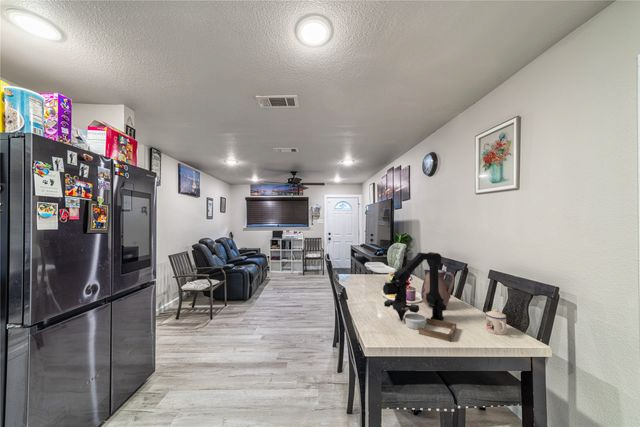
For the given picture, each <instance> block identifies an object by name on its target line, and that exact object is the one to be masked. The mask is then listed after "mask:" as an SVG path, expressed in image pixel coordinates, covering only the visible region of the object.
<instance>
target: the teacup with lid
mask: <svg viewBox="0 0 640 427" xmlns="http://www.w3.org/2000/svg"><path fill="white" fill-rule="evenodd" d="M485 315H486V316H485V317H486V318H485V319H486V321H485V322H486V330H487V332H488V333H489V334H490V333H491V334H493V335H499V336H504V335H507V315H506V314H504V313H503V312H501V311H499V310H498V309H497V308H494V309H493V310H491V311H486V312H485Z"/></svg>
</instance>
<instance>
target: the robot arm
mask: <svg viewBox="0 0 640 427" xmlns="http://www.w3.org/2000/svg"><path fill="white" fill-rule="evenodd" d="M424 261H426V262H427V265H428V267H429V270H430V291H429V293H426V300H427V303H428V304H429V306H430V307H432V308H431V314H432V315H431V317H430V319H435V320H440V321H444V319H445V317H444V316H443V312H444V311H446V309H447V306H445V305H444V304H443V303H442V298H441V295H440V293H439V279H438V270H439V267H440V266H441V265H442V255H441V254H440V253H438V252H433V251H432V252H431V251H430V252H427V253H425V252H418V253H417V254H416V255H415V256H414V257H413V258H412V259H411V261H409V262H408V263H407V264H406V265H405V266H404V267H402V268H399V269H398V270H396V271H395V272H394V274H393V276H392V278H391V280H390V282H387V281H385V282H384V285H383V287H382V292H383V294H384V295H385V296H389V295H391V296H392V295H395V296H394V297H395V298H394V299H386V300H385V301H384V304H383V306H384V307H387V308H391V306H392V308H393V310H394V311H396V312H397V315H398V318H399V320H400V321H401V322H402V321H403V320H404V318H405V315H406V314H407V312H408V311H410V312H411V313H414V314H418V312H419V311H420V306H419V305H418V304H415V303H412V304H408V302H407V298H408V294H407V287H408V286H411V284H410V283H408V281H409V279H410V278H411V274H412V273H413V272H414V270H416V269H417V268H418V267H419V265H421V264H422V263H423V262H424ZM430 307H429V308H430Z"/></svg>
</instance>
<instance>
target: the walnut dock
mask: <svg viewBox="0 0 640 427" xmlns="http://www.w3.org/2000/svg"><path fill="white" fill-rule="evenodd" d="M425 318H426V321H425V325H430V326H434V327H439V328H444V329H448V330H449V329H450V331H449V332H448V333H445V332H441V331H437V330H433V329H428V328H425V327H424V328H420V327H419V330H418V335H422V336H425V337H430V338H433V339H438V340H442V341H446V342H449V343H451V342H452V341H453V338H454V336H455V334H456V332H457V330H458V329H457V323H453V322H449V321H444V320H443V321H440V320H435V319H431V317H430V318H429V317H428V318H427V317H425Z"/></svg>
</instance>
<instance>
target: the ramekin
mask: <svg viewBox="0 0 640 427" xmlns="http://www.w3.org/2000/svg"><path fill="white" fill-rule="evenodd" d="M426 318H427V317H425V316H424V315H422V314H419V313H405V315H404V319H405V325H406V326H407V327H408V328H409V329H412V330H416V331H419V327H420V328H424V329H425V325H426Z"/></svg>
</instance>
